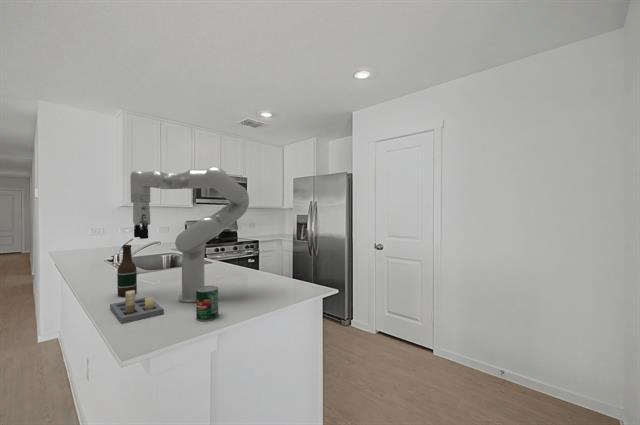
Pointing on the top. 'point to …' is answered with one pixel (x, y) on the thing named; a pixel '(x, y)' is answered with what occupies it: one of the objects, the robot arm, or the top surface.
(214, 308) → the canned tomato
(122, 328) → the top surface
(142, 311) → the peg board
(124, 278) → the beer bottle
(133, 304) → the beech pin
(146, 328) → the top surface
